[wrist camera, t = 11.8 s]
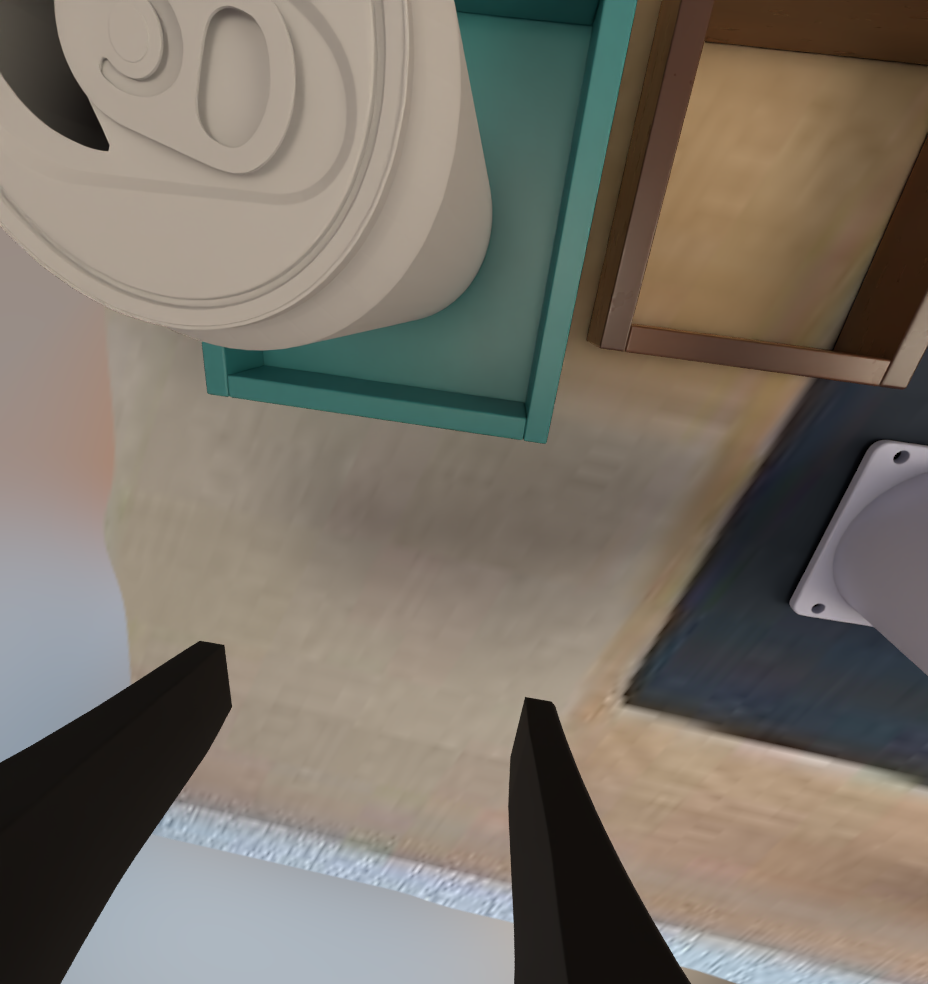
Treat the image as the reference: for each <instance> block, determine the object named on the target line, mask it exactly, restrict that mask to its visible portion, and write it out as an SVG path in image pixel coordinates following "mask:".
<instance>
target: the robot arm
mask: <svg viewBox="0 0 928 984" xmlns="http://www.w3.org/2000/svg"><path fill="white" fill-rule="evenodd" d="M900 451H901V455H900V456H899V457H898V458H897V459H895V460H893V458H894V456H895V455H896V453H898V452H900ZM789 604H790V607H791V608H792V609H793V610H794V611H795V612H796V613H797V614H799V615H804V616H810V617H816V618H822V619H829V620H835V621H841V622H847V623H853V624H860V625H866V626H872V627H875V628H876V629H877V630H878V631H879V632H880V633H881V634H882V635H883V636H885V637H886V638H887V639H888V640H889V641H890V642H891V643H892V644H893V645H894V646H896V647H897V648H898V649H899V650H900V651H901V652H902V653H903V654H904V655H905V656H907V657H908V658H909V659H910V660H911V661H912V662H913V663H914V664H915V665H917V666H918V667H919V668H920V669H921V670H922V671H923V672H924V673H925V674H926V675H928V446H927V445H920V444H913V443H906V442H899V441H892V440H880V441H877V442H875V443H874V444H872V445H871V446H870V447H869V448H868V450H867V451H866V453H865V455H864V457H863V459H862V461H861V463H860V465H859V467H858V469H857V471H856V473H855V475H854V477H853V479H852V481H851V483H850V485H849V486H848V488H847V490H846V492H845V494H844V496H843V498H842V500H841V502H840V504H839V506H838V508H837V510H836V512H835V514H834V516H833V518H832V520H831V522H830V523H829V525H828V527H827V529H826V531H825V533H824V535H823V537H822V539H821V541H820V543H819V545H818V547H817V549H816V551H815V553H814V555H813V557H812V558H811V560H810V562H809V564H808V566H807V568H806V570H805V572H804V574H803V576H802V578H801V580H800V582H799V584H798V586H797V588H796V590H795V592H794V594H793V595H792V597H791V599H790V603H789ZM816 604H818V605H817V606H816V607H814V608H812V607H813V606H814V605H816ZM231 708H232V703H231V695H230V687H229V679H228V671H227V663H226V655H225V647H224V645H221V644H215V643H209V642H204V641H199V642H197V643H196V644H194V645H192V646H191V647H189V648H188V649H186V650H184V651H183V652H181V653H180V654H178V655H177V656H175V657H174V658H172V659H170V660H169V661H167V662H166V663H164V664H163V665H161V666H160V667H158V668H157V669H155V670H154V671H152V672H151V673H149V674H147V675H146V676H144V677H143V678H141V679H140V680H138V681H137V682H135V683H133V684H132V685H130V686H129V687H127V688H126V689H124V690H122V691H121V692H119V693H118V694H116V695H115V696H113V697H111V698H110V699H108V700H107V701H105V702H103V703H102V704H100V705H99V706H97V707H96V708H94V709H92V710H91V711H89V712H87V713H86V714H84V715H82V716H80V717H79V718H77V719H75V720H74V721H72V722H71V723H69V724H67V725H65V726H64V727H62V728H60V729H59V730H57V731H55V732H53V733H52V734H50V735H48V736H47V737H45V738H43V739H42V740H40V741H38V742H37V743H35V744H33V745H31V746H30V747H28V748H26V749H24V750H22V751H21V752H19V753H17V754H15V755H13V756H12V757H10V758H8V759H6V760H4V761H2V762H1V763H0V984H61V982H62V980H63V978H64V976H65V975H66V973H67V971H68V969H69V967H70V966H71V964H72V962H73V960H74V959H75V957H76V955H77V953H78V952H79V950H80V948H81V946H82V944H83V943H84V941H85V939H86V938H87V936H88V934H89V932H90V931H91V929H92V927H93V926H94V923H95V922H96V921H97V919H98V917H99V915H100V914H101V912H102V910H103V909H104V907H105V905H106V903H107V902H108V900H109V898H110V897H111V895H112V893H113V891H114V890H115V888H116V886H117V885H118V883H119V882H120V880H121V878H122V877H123V875H124V874H125V872H126V871H127V869H128V868H129V866H130V865H131V863H132V861H133V860H134V858H135V857H136V855H137V854H138V853H139V851H140V850H141V848H142V847H143V845H144V844H145V842H146V841H147V840H148V838H149V836H150V835H151V834H152V832H153V831H154V829H155V828H156V827H157V825H158V824H159V822H160V821H161V819H162V818H163V816H164V815H165V814H166V812H167V811H168V809H169V808H170V806H171V805H172V803H173V802H174V801H175V799H176V798H177V796H178V795H179V793H180V792H181V790H182V789H183V787H184V786H185V785H186V783H187V782H188V780H189V779H190V777H191V776H192V774H193V773H194V771H195V770H196V768H197V767H198V765H199V764H200V763H201V761H202V760H203V758H204V757H205V755H206V754H207V752H208V750H209V749H210V747H211V745H212V743H213V741H214V740H215V738H216V736H217V734H218V732H219V731H220V729H221V727H222V725H223V723H224V721H225V719H226V717H227V715H228V713H229V712H230V710H231ZM508 809H509V833H510V855H511V876H512V896H513V917H514V947H515V948H514V949H515V976H514V984H691V983H690V981H689V980H688V978H687V977H686V975H685V974H684V972H683V970H682V969H681V967H680V966H679V964H678V962H677V961H676V959H675V957H674V956H673V954H672V952H671V951H670V949H669V947H668V945H667V944H666V942H665V940H664V939H663V937H662V935H661V934H660V932H659V930H658V929H657V927H656V925H655V923H654V922H653V920H652V918H651V916H650V915H649V913H648V911H647V909H646V907H645V906H644V904H643V902H642V900H641V899H640V897H639V895H638V893H637V891H636V890H635V888H634V886H633V884H632V882H631V880H630V878H629V876H628V875H627V873H626V871H625V869H624V867H623V865H622V863H621V861H620V859H619V857H618V855H617V853H616V851H615V849H614V847H613V845H612V843H611V841H610V839H609V837H608V835H607V833H606V831H605V829H604V827H603V825H602V822H601V820H600V818H599V816H598V814H597V812H596V810H595V807H594V805H593V803H592V800H591V798H590V796H589V794H588V791H587V789H586V787H585V785H584V782H583V780H582V778H581V775H580V773H579V771H578V768H577V766H576V763H575V761H574V758H573V756H572V753H571V750H570V748H569V745H568V743H567V740H566V737H565V734H564V732H563V729H562V726H561V723H560V720H559V717H558V714H557V711H556V707H555V705H554V704H553V703H552V702H550V701H545V700H539V699H533V698H527V697H525V700H524V704H523V708H522V712H521V716H520V720H519V724H518V729H517V733H516V737H515V741H514V745H513V749H512V753H511V759H510V780H509V804H508Z"/></svg>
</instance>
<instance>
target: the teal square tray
mask: <svg viewBox="0 0 928 984" xmlns="http://www.w3.org/2000/svg"><path fill="white" fill-rule="evenodd" d="M454 2H455V7H456V13H457V18H458V23H459V28H460V34H461V39H462V44H463V49H464V54H465V60H466V65H467V70H468V75H469V81H470V86H471V91H472V96H473V101H474V107H475V112H476V117H477V122H478V128H479V133H480V138H481V143H482V148H483V154H484V159H485V164H486V169H487V175H488V180H489V185H490V190H491V198H492V228H491V235H490V241H489V245H488V248H487V251H486V255H485V258H484V260H483V263H482V265H481V267H480V269H479V271H478V273H477V275H476V276H475V278H474V279H473V281H472V282H471V284H470V285H469V287H468V288H467V289H466V290H465V291H464V292H463V293H462V295H461V296H460V297H458V298H457V299H456V300H455V301H454V302H453V303H451V304H450V305H449V306H448V307H446V308H444V309H443V310H441V311H439V312H437V313H435V314H433V315H431V316H428V317H425V318H422V319H418V320H414V321H409V322H405V323H400V324H396V325H391V326H387V327H382V328H378V329H374V330H369V331H365V332H360V333H356V334H351V335H347V336H342V337H338V338H333V339H329V340H324V341H320V342H315V343H311V344H306V345H302V346H297V347H291V348H286V349H277V350H242V349H233V348H227V347H222V346H217V345H213V344H209V343H206V342H203V341H202V349H203V358H204V367H205V376H206V385H207V393H208V394H211V395H218V396H225V397H229V396H230V397H232V398H239V399H246V400H253V401H260V402H266V403H273V404H280V405H287V406H294V407H300V408H307V409H314V410H321V411H327V412H334V413H341V414H348V415H355V416H361V417H368V418H375V419H382V420H388V421H395V422H402V423H409V424H416V425H422V426H429V427H436V428H443V429H450V430H456V431H463V432H470V433H477V434H483V435H490V436H497V437H504V438H511V439H517V440H522V439H524V441H529V442H536V443H543V444H546V442H547V438H548V433H549V428H550V423H551V418H552V413H553V409H554V404H555V399H556V394H557V389H558V384H559V379H560V375H561V370H562V365H563V360H564V355H565V350H566V345H567V341H568V336H569V331H570V326H571V321H572V316H573V311H574V306H575V302H576V297H577V292H578V287H579V282H580V277H581V272H582V268H583V263H584V258H585V253H586V248H587V243H588V238H589V234H590V229H591V224H592V219H593V214H594V209H595V204H596V200H597V195H598V190H599V185H600V180H601V175H602V170H603V165H604V161H605V156H606V151H607V146H608V141H609V136H610V131H611V127H612V122H613V117H614V112H615V107H616V102H617V97H618V93H619V88H620V83H621V78H622V73H623V68H624V63H625V58H626V54H627V49H628V44H629V39H630V34H631V29H632V24H633V20H634V15H635V10H636V5H637V0H454Z"/></svg>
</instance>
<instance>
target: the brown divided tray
mask: <svg viewBox="0 0 928 984" xmlns="http://www.w3.org/2000/svg"><path fill="white" fill-rule="evenodd" d="M704 41H709V42H718V43H728V44H737V45H747V46H756V47H766V48H775V49H784V50H794V51H803V52H813V53H822V54H832V55H841V56H851V57H860V58H870V59H879V60H888V61H898V62H907V63H917V64H926V65H928V0H662V3H661V8H660V12H659V17H658V21H657V26H656V30H655V35H654V39H653V44H652V48H651V53H650V57H649V62H648V66H647V71H646V75H645V80H644V84H643V89H642V93H641V98H640V102H639V107H638V111H637V116H636V120H635V125H634V129H633V134H632V138H631V143H630V147H629V152H628V156H627V161H626V165H625V170H624V174H623V179H622V183H621V188H620V192H619V197H618V201H617V206H616V210H615V215H614V219H613V224H612V228H611V233H610V237H609V242H608V246H607V251H606V255H605V260H604V264H603V269H602V273H601V278H600V282H599V287H598V291H597V296H596V300H595V305H594V309H593V314H592V318H591V323H590V327H589V332H588V336H587V341H589V342H590V343H592V344H594V345H596V346H598V347H599V348H602V349H609V350H617V351H626V352H631V353H639V354H646V355H653V356H661V357H668V358H675V359H682V360H690V361H697V362H704V363H712V364H719V365H726V366H733V367H741V368H748V369H755V370H763V371H770V372H777V373H784V374H792V375H799V376H806V377H814V378H821V379H828V380H835V381H843V382H850V383H857V384H865V385H872V386H880V387H887V388H894V389H905V388H906V387H907V385H908V383H909V381H910V379H911V377H912V376H913V374H914V372H915V370H916V368H917V366H918V364H919V362H920V360H921V358H922V356H923V354H924V352H925V350H926V349H927V347H928V136H927V138H926V140H925V143H924V145H923V147H922V150H921V152H920V154H919V156H918V159H917V161H916V163H915V166H914V168H913V170H912V172H911V175H910V177H909V179H908V181H907V184H906V186H905V188H904V191H903V193H902V195H901V197H900V200H899V202H898V204H897V206H896V209H895V211H894V213H893V216H892V218H891V220H890V222H889V225H888V227H887V229H886V232H885V234H884V236H883V238H882V241H881V243H880V245H879V247H878V250H877V252H876V254H875V257H874V259H873V261H872V263H871V266H870V268H869V270H868V272H867V275H866V277H865V279H864V282H863V284H862V286H861V288H860V291H859V293H858V295H857V298H856V300H855V302H854V304H853V307H852V309H851V311H850V313H849V316H848V318H847V320H846V323H845V325H844V327H843V329H842V332H841V334H840V336H839V338H838V341H837V343H836V345H835V348H834V350H833V351H832V350H825V349H818V348H810V347H803V346H795V345H788V344H780V343H773V342H765V341H758V340H751V339H743V338H736V337H728V336H721V335H713V334H706V333H698V332H691V331H684V330H676V329H669V328H661V327H654V326H646V325H639V324H632V320H633V316H634V313H635V309H636V305H637V301H638V297H639V293H640V289H641V285H642V281H643V278H644V274H645V270H646V266H647V262H648V258H649V254H650V250H651V246H652V243H653V239H654V235H655V231H656V227H657V223H658V219H659V215H660V212H661V208H662V204H663V200H664V196H665V192H666V188H667V184H668V180H669V177H670V173H671V169H672V165H673V161H674V157H675V153H676V149H677V145H678V142H679V138H680V134H681V130H682V126H683V122H684V118H685V114H686V110H687V107H688V103H689V99H690V95H691V91H692V87H693V83H694V79H695V76H696V72H697V68H698V64H699V60H700V56H701V52H702V48H703V44H704Z"/></svg>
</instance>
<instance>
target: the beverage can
mask: <svg viewBox="0 0 928 984" xmlns="http://www.w3.org/2000/svg"><path fill="white" fill-rule="evenodd" d="M0 227H1V228H2V229H3V230H4V231H5V232H6V233H7V234H8V235H9V236H10V237H11V238H12V239H13V240H14V241H15V242H16V243H17V244H18V245H19V246H20V247H21V248H22V249H23V250H25V251H26V252H27V253H28V254H29V255H30V256H31V257H32V258H33V259H34V260H36V261H37V262H38V263H39V264H40V265H41V266H43V267H44V268H45V269H47V270H48V271H49V272H51V273H52V274H54V275H55V276H56V277H58V278H59V279H60V280H62V281H63V282H64V283H66V284H67V285H69V286H70V287H72V288H73V289H75V290H76V291H78V292H80V293H81V294H83V295H85V296H86V297H88V298H90V299H92V300H94V301H96V302H98V303H100V304H101V305H103V306H105V307H107V308H109V309H111V310H113V311H116V312H118V313H121V314H124V315H126V316H129V317H132V318H135V319H138V320H142V321H145V322H148V323H152V324H156V325H161V326H165V327H167V328H169V329H171V330H172V331H175V332H177V333H179V334H182V335H185V336H187V337H190V338H193V339H196V340H199V341H203V342H206V343H209V344H213V345H217V346H222V347H227V348H233V349H242V350H277V349H286V348H291V347H297V346H302V345H306V344H311V343H315V342H320V341H324V340H329V339H333V338H338V337H342V336H347V335H351V334H356V333H360V332H365V331H369V330H374V329H378V328H382V327H387V326H391V325H396V324H400V323H405V322H409V321H414V320H418V319H422V318H425V317H428V316H431V315H433V314H435V313H437V312H439V311H441V310H443V309H444V308H446V307H448V306H449V305H450V304H451V303H453V302H454V301H455V300H456V299H457V298H458V297H460V296H461V295H462V293H463V292H464V291H465V290H466V289H467V288H468V287H469V285H470V284H471V282H472V281H473V279H474V278H475V276H476V275H477V273H478V271H479V269H480V267H481V265H482V263H483V260H484V258H485V255H486V251H487V248H488V245H489V241H490V235H491V228H492V198H491V190H490V185H489V180H488V175H487V169H486V164H485V159H484V154H483V148H482V143H481V138H480V133H479V128H478V122H477V117H476V112H475V107H474V101H473V96H472V91H471V86H470V81H469V75H468V70H467V65H466V60H465V54H464V49H463V44H462V39H461V34H460V28H459V23H458V18H457V13H456V7H455V2H454V0H0Z"/></svg>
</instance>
